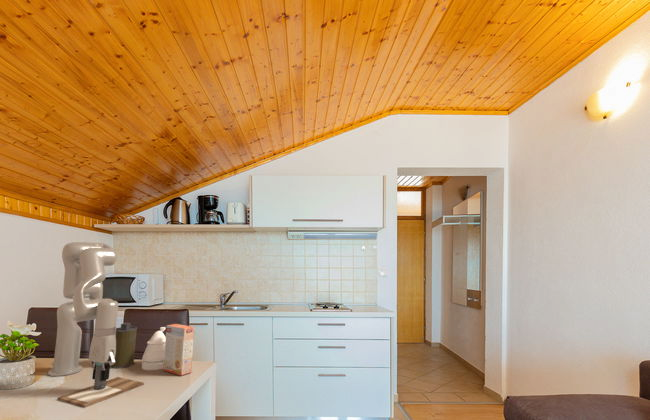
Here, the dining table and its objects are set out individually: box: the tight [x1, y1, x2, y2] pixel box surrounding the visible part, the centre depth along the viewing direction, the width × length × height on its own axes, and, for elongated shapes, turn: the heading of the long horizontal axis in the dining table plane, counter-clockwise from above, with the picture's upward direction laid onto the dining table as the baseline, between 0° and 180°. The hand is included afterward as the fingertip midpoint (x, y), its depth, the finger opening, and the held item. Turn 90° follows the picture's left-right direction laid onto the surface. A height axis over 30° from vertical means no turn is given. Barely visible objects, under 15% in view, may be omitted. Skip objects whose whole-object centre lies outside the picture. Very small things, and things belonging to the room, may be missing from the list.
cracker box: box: [162, 323, 195, 376], centre depth 161 cm, size 14×6×21 cm, turn 58°
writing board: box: [56, 376, 145, 409], centre depth 135 cm, size 16×24×1 cm, turn 157°
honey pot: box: [141, 326, 167, 371], centre depth 168 cm, size 13×13×18 cm
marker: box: [93, 362, 108, 389], centre depth 137 cm, size 4×4×12 cm
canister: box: [111, 322, 138, 369], centre depth 169 cm, size 11×10×20 cm
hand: (100, 378), depth 136 cm, fingers closed on marker, 4 cm apart
